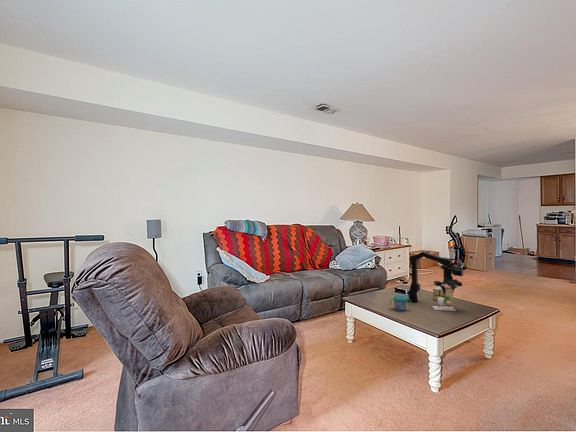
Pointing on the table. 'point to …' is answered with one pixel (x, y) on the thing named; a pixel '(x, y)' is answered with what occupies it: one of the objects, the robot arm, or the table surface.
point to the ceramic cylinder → (440, 301)
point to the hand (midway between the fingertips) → (448, 294)
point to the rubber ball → (448, 303)
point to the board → (443, 308)
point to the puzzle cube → (439, 294)
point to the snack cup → (400, 302)
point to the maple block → (448, 292)
